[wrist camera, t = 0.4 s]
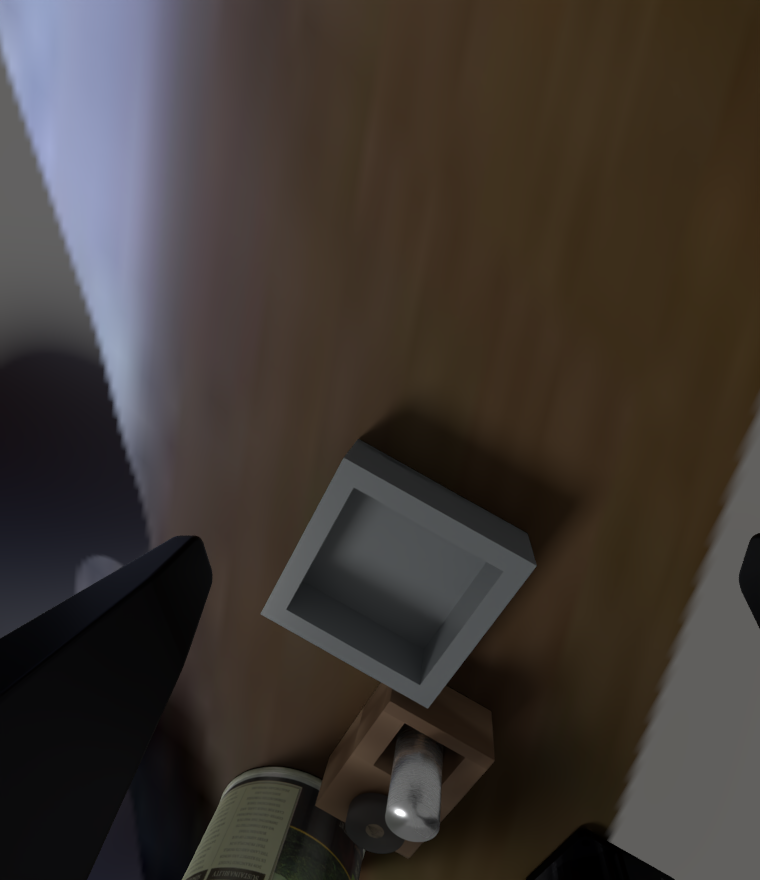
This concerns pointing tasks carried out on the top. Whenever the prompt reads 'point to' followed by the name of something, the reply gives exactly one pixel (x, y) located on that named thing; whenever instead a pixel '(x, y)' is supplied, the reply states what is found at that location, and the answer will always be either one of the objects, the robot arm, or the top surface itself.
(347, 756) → the block
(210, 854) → the coffee can
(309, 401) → the top surface
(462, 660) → the pin tray
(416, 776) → the pin
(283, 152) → the top surface
